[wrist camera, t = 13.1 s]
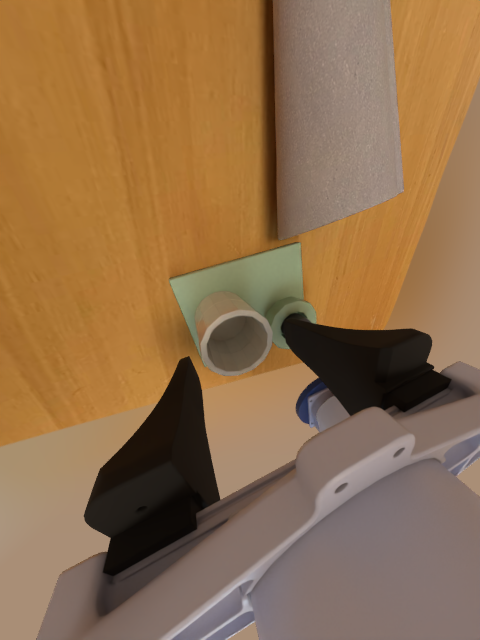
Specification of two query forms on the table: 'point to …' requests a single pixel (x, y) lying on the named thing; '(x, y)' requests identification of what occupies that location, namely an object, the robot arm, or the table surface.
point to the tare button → (294, 316)
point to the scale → (250, 287)
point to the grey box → (334, 111)
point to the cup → (231, 334)
